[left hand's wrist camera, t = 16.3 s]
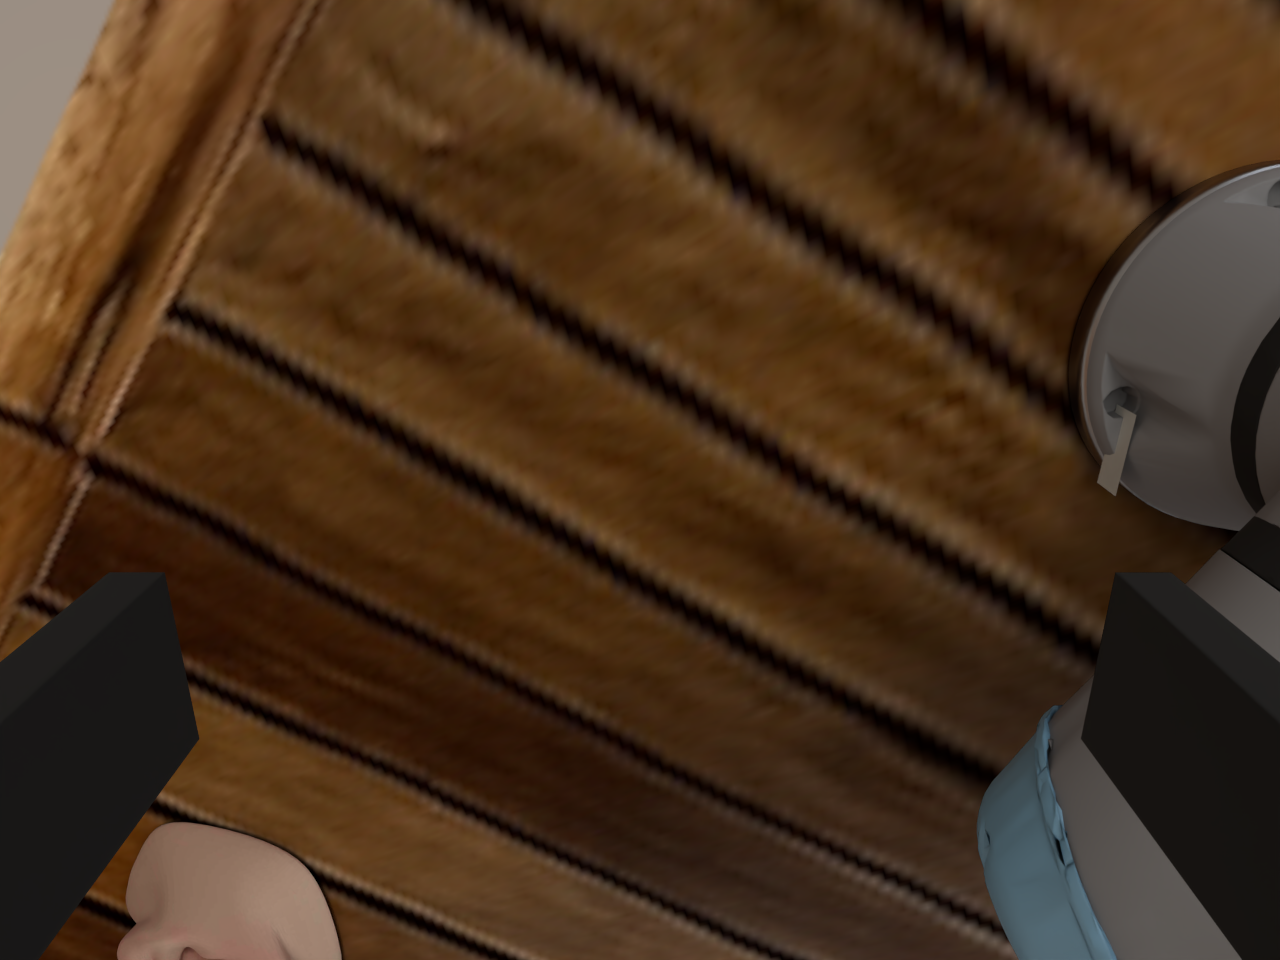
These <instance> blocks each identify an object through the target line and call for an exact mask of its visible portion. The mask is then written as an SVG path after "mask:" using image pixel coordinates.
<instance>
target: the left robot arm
mask: <svg viewBox="0 0 1280 960" xmlns="http://www.w3.org/2000/svg"><path fill="white" fill-rule="evenodd" d="M1068 377H1069V394H1070V401H1071V407H1072V411H1073V415H1074V419H1075V422H1076V425H1077V428H1078V430H1079V433H1080V435H1081V438H1082V439H1083V441H1084V443H1085V445H1086V447H1087V449H1088V450H1089V452H1090V453H1091V455H1092V456H1093V458H1094V459H1095V460H1096V462H1097V463H1098V464H1099V465H1100V466H1101V470H1100V474H1099V478H1098V482H1097V483H1098V484H1100V485H1101V486H1102V487H1104V488H1105V489H1106V490H1108V491H1109V492H1110V493H1112V494H1113V495H1114V496H1116V493H1117V489H1118V485H1119V484H1120V485H1121V486H1123V487H1124V488H1125V489H1127V490H1128V491H1130V492H1131V493H1132V494H1134V495H1135V496H1136V497H1138V498H1139V499H1141V500H1142V501H1144V502H1145V503H1147V504H1148V505H1150V506H1152V507H1154V508H1156V509H1158V510H1160V511H1161V512H1164V513H1166V514H1169V515H1171V516H1174V517H1177V518H1180V519H1184V520H1187V521H1190V522H1194V523H1198V524H1201V525H1207V526H1212V527H1218V528H1224V529H1230V530H1236V531H1239V532H1238V533H1237V534H1236V535H1235V536H1234V537H1233V538H1232V539H1231V540H1230V541H1229V542H1228V543H1227V544H1226V545H1225V546H1224V547H1223V548H1221V550H1218V551H1217V552H1216V553H1215V554H1214V555H1213V556H1212V557H1211V558H1210V559H1209V560H1208V561H1207V562H1206V563H1205V564H1204V565H1203V566H1202V568H1201V569H1200V570H1199V571H1198V572H1197V573H1196V574H1195V575H1194V576H1193V577H1192V578H1191V579H1190V580H1189V581H1188V582H1187V583H1186V584H1184V583H1183V582H1182V581H1181V580H1179V579H1178V578H1177V577H1176V576H1175V575H1173V574H1172V573H1115V577H1114V582H1113V587H1112V592H1111V596H1110V601H1109V606H1108V611H1107V616H1106V620H1105V625H1104V630H1103V635H1102V639H1101V644H1100V649H1099V654H1098V659H1097V663H1096V668H1095V673H1094V675H1093V676H1092V677H1091V678H1090V679H1089V680H1088V681H1087V682H1086V683H1085V684H1084V685H1083V686H1082V687H1081V688H1080V689H1079V690H1078V691H1077V692H1076V693H1075V694H1074V695H1073V696H1072V697H1071V698H1070V699H1069V700H1068V701H1067V702H1066V703H1065V704H1064V705H1059V706H1054V705H1053V706H1052V707H1051V708H1050V709H1049V710H1048V711H1047V712H1045V713H1044V715H1043V716H1042V717H1041V719H1040V721H1039V723H1038V725H1037V730H1036V733H1035V734H1034V735H1033V736H1032V737H1031V739H1030V740H1029V741H1028V742H1027V743H1026V744H1025V745H1024V746H1023V748H1022V749H1021V750H1020V751H1019V752H1018V753H1017V754H1016V755H1015V757H1014V758H1013V759H1012V760H1011V761H1010V762H1009V763H1008V764H1007V766H1006V767H1005V768H1004V769H1003V770H1002V771H1001V772H1000V773H999V775H998V776H997V777H996V778H995V779H994V780H993V781H992V783H991V784H990V786H989V787H988V789H987V790H986V792H985V794H984V797H983V799H982V802H981V806H980V809H979V814H978V820H977V837H978V850H979V854H980V858H981V861H982V864H983V867H984V876H985V883H986V886H987V889H988V892H989V895H990V897H991V900H992V903H993V905H994V908H995V910H996V913H997V915H998V918H999V920H1000V922H1001V925H1002V927H1003V929H1004V931H1005V933H1006V935H1007V938H1008V940H1009V942H1010V944H1011V945H1012V947H1013V949H1014V951H1015V953H1016V955H1017V957H1018V959H1019V960H1280V160H1275V161H1267V162H1260V163H1256V164H1251V165H1247V166H1243V167H1239V168H1236V169H1233V170H1230V171H1227V172H1224V173H1221V174H1219V175H1217V176H1214V177H1212V178H1209V179H1207V180H1205V181H1203V182H1201V183H1199V184H1197V185H1195V186H1193V187H1191V188H1190V189H1188V190H1186V191H1184V192H1183V193H1181V194H1180V195H1178V196H1177V197H1175V198H1173V199H1172V200H1170V201H1169V202H1168V203H1166V204H1165V205H1164V206H1162V207H1161V208H1160V209H1158V210H1157V211H1156V212H1154V213H1153V214H1152V215H1151V216H1150V217H1149V218H1147V219H1146V220H1145V221H1144V222H1143V223H1142V224H1141V225H1140V226H1138V227H1137V228H1136V230H1135V231H1134V232H1133V233H1132V234H1131V235H1130V236H1129V237H1128V238H1127V239H1126V240H1125V241H1124V242H1123V243H1122V245H1121V246H1120V247H1119V248H1118V250H1117V251H1116V252H1115V253H1114V254H1113V256H1112V257H1111V258H1110V260H1109V261H1108V263H1107V264H1106V266H1105V267H1104V269H1103V270H1102V272H1101V273H1100V275H1099V276H1098V278H1097V280H1096V282H1095V283H1094V285H1093V287H1092V289H1091V291H1090V293H1089V295H1088V297H1087V299H1086V301H1085V304H1084V306H1083V308H1082V311H1081V314H1080V317H1079V319H1078V322H1077V325H1076V329H1075V333H1074V337H1073V341H1072V346H1071V352H1070V359H1069V376H1068ZM1238 562H1239V563H1238ZM1245 567H1246V568H1245ZM1248 569H1249V570H1248ZM1252 572H1253V573H1252ZM198 740H199V735H198V730H197V726H196V721H195V716H194V711H193V706H192V702H191V697H190V692H189V687H188V683H187V678H186V673H185V668H184V663H183V659H182V654H181V649H180V644H179V639H178V635H177V630H176V625H175V620H174V616H173V611H172V606H171V601H170V596H169V592H168V587H167V582H166V577H165V573H108V574H107V575H105V576H104V577H103V578H102V579H101V580H99V581H98V582H97V583H96V584H95V585H93V586H92V587H91V588H90V589H89V590H87V591H86V592H85V593H84V594H82V595H81V596H80V597H79V598H78V599H76V600H75V601H74V602H73V603H72V604H70V605H69V606H68V607H67V608H65V609H64V610H63V611H62V612H61V613H59V614H58V615H57V616H56V617H55V618H53V619H52V620H51V621H50V622H49V623H47V624H46V625H45V626H44V627H42V628H41V629H40V630H39V631H38V632H36V633H35V634H34V635H33V636H32V637H30V638H29V639H28V640H27V641H25V642H24V643H23V644H22V645H21V646H19V647H18V648H17V649H16V650H15V651H13V652H12V653H11V654H10V655H8V656H7V657H6V658H5V659H4V660H2V661H1V662H0V960H38V959H39V958H40V956H41V955H42V954H43V952H44V951H45V950H46V948H47V947H48V945H49V944H50V943H51V941H52V940H53V939H54V937H55V936H56V934H57V933H58V932H59V930H60V929H61V928H62V926H63V925H64V924H65V922H66V921H67V919H68V918H69V917H70V915H71V914H72V913H73V911H74V910H75V908H76V907H77V906H78V904H79V903H80V902H81V900H82V899H83V897H84V896H85V895H86V893H87V892H88V891H89V889H90V888H91V886H92V885H93V884H94V882H95V881H96V880H97V878H98V877H99V876H100V874H101V873H102V871H103V870H104V869H105V867H106V866H107V865H108V863H109V862H110V860H111V859H112V858H113V856H114V855H115V854H116V852H117V851H118V849H119V848H120V847H121V845H122V844H123V843H124V841H125V840H126V839H127V837H128V836H129V834H130V833H131V832H132V830H133V829H134V828H135V826H136V825H137V823H138V822H139V821H140V819H141V818H142V817H143V815H144V814H145V812H146V811H147V810H148V808H149V807H150V806H151V804H152V803H153V802H154V800H155V799H156V797H157V796H158V795H159V793H160V792H161V791H162V789H163V788H164V786H165V785H166V784H167V782H168V781H169V780H170V778H171V777H172V775H173V774H174V773H175V771H176V770H177V769H178V767H179V766H180V764H181V763H182V762H183V760H184V759H185V758H186V756H187V755H188V754H189V752H190V751H191V749H192V748H193V747H194V745H195V744H196V743H197V741H198Z"/></svg>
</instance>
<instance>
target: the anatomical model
mask: <svg viewBox="0 0 1280 960" xmlns="http://www.w3.org/2000/svg"><path fill="white" fill-rule="evenodd" d="M126 905H127V908H128V911H129V913H130V915H131V917H132V918H133V920H134V921H135V922H136V923H137V924H136V925H135V926H134V927H133V928H132V929H131V930H130V931H129V932H128V933H127V934H126V936H125V937H124V938H123V939H122V940H121V942H120V944H119V947H118V950H117V957H118V960H342V956H341V951H340V946H339V941H338V937H337V933H336V929H335V926H334V923H333V920H332V916H331V913H330V910H329V908H328V905H327V903H326V900H325V898H324V895H323V893H322V891H321V889H320V887H319V885H318V883H317V882H316V880H315V879H314V877H313V876H312V874H311V873H310V871H309V870H308V869H307V868H306V867H305V866H304V865H303V864H302V863H301V862H300V861H299V860H298V859H296V858H295V857H293V856H292V855H291V854H289V853H288V852H286V851H284V850H282V849H280V848H278V847H276V846H274V845H272V844H270V843H267V842H265V841H263V840H260V839H257V838H254V837H251V836H248V835H245V834H241V833H238V832H234V831H231V830H227V829H222V828H218V827H213V826H209V825H202V824H195V823H188V822H172V823H168V824H164V825H161V826H160V827H158V828H156V829H155V830H154V831H153V832H152V833H151V834H150V835H149V837H148V838H147V840H146V841H145V843H144V844H143V846H142V848H141V851H140V853H139V855H138V857H137V859H136V861H135V863H134V865H133V868H132V870H131V874H130V877H129V882H128V887H127V892H126Z"/></svg>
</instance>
